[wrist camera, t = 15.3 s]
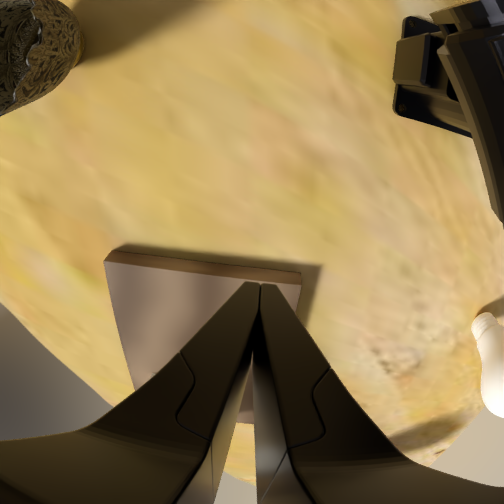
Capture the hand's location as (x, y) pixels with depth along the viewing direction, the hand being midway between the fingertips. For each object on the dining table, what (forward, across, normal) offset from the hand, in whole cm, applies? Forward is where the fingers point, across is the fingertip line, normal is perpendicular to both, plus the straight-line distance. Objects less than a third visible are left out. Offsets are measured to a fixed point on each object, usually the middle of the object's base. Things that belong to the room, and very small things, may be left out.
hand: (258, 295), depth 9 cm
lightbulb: (+12, -21, +10) cm, 26 cm away
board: (+12, +4, +16) cm, 21 cm away
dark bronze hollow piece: (+12, +14, -8) cm, 20 cm away
